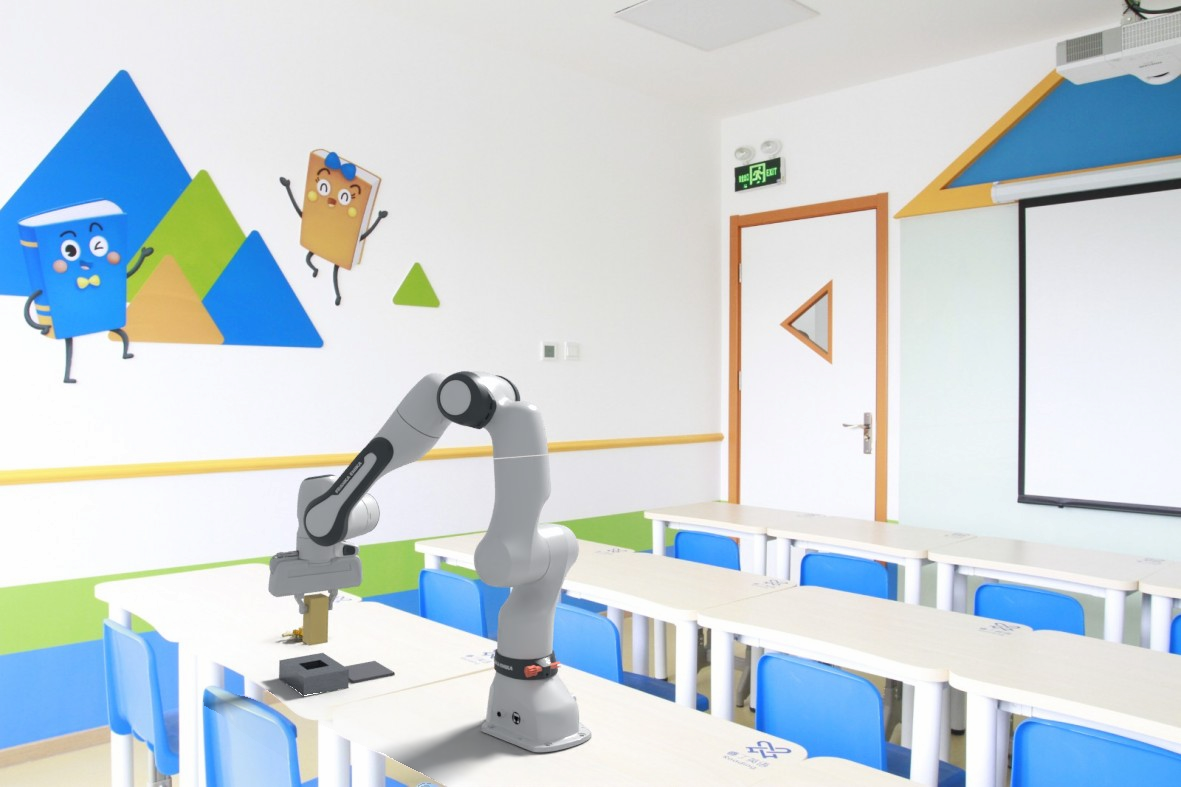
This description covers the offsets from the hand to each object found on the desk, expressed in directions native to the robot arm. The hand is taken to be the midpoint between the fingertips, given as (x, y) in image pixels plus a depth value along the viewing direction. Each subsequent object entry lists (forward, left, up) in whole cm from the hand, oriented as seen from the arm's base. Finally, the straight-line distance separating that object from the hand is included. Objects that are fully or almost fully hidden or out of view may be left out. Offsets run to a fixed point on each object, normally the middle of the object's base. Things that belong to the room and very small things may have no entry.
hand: (315, 611), depth 197 cm
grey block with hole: (0, 0, -16) cm, 16 cm away
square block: (0, 0, -7) cm, 7 cm away
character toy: (+33, -9, -17) cm, 38 cm away
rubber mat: (0, -12, -16) cm, 20 cm away
